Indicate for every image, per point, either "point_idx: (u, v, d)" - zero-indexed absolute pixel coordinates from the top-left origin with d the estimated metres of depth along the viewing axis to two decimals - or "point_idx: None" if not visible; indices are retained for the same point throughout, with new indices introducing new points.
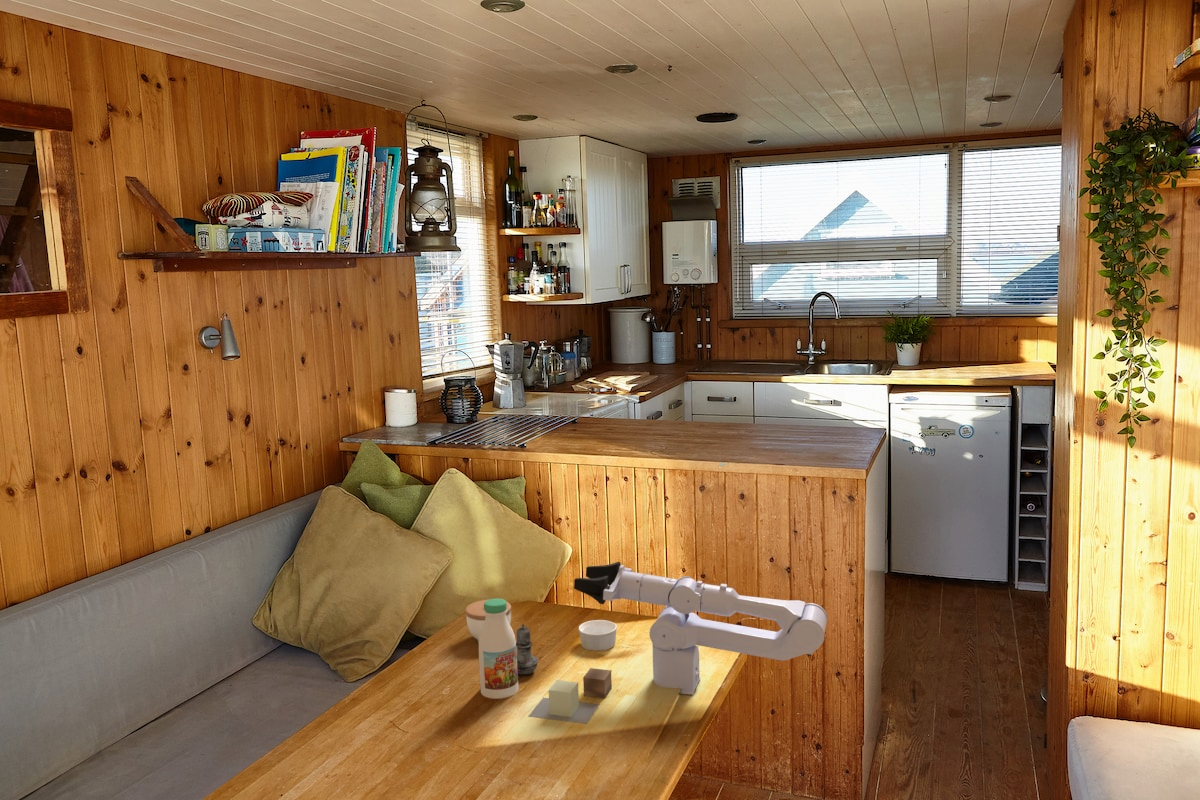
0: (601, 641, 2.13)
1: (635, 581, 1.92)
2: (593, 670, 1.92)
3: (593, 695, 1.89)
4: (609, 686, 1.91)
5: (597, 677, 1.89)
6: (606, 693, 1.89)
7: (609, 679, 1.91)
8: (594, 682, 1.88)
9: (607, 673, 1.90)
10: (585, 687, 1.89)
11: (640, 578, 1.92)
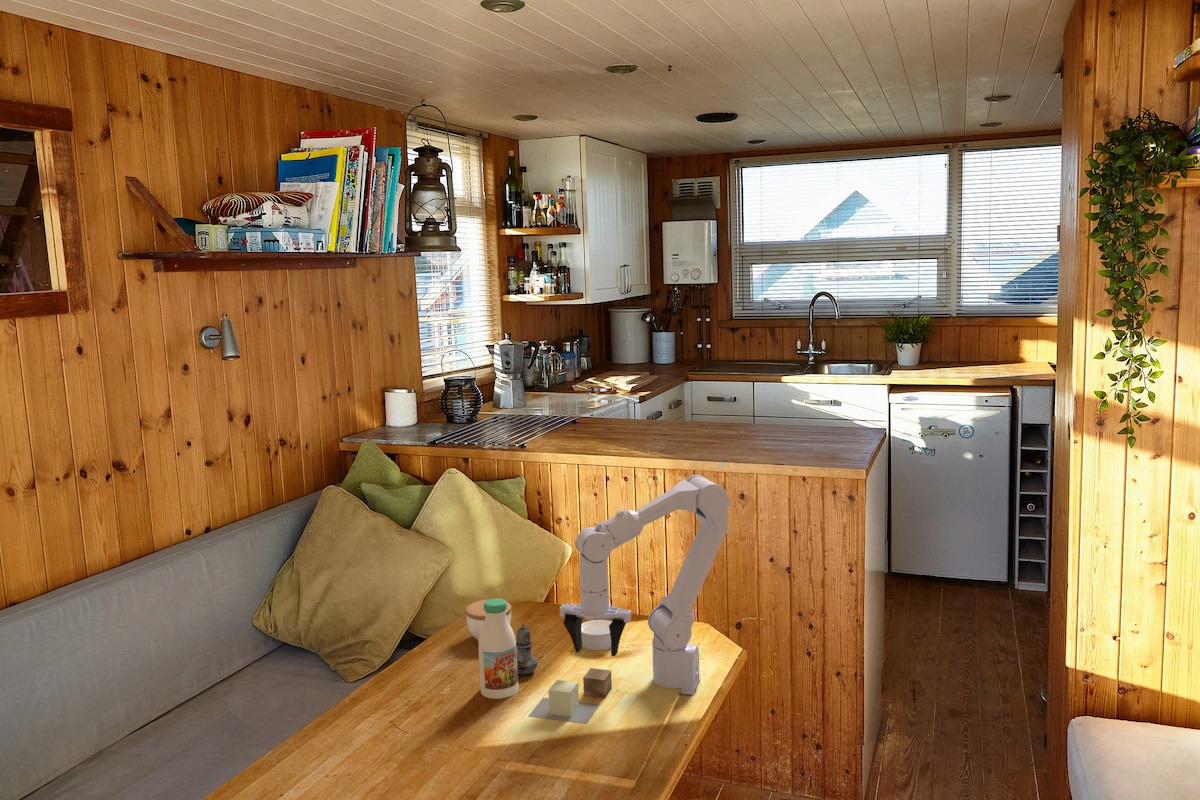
0: (601, 641, 2.13)
1: (601, 597, 1.85)
2: (593, 670, 1.92)
3: (593, 695, 1.89)
4: (609, 686, 1.91)
5: (597, 677, 1.89)
6: (606, 693, 1.89)
7: (609, 679, 1.91)
8: (594, 682, 1.88)
9: (607, 673, 1.90)
10: (585, 687, 1.89)
11: (597, 594, 1.85)
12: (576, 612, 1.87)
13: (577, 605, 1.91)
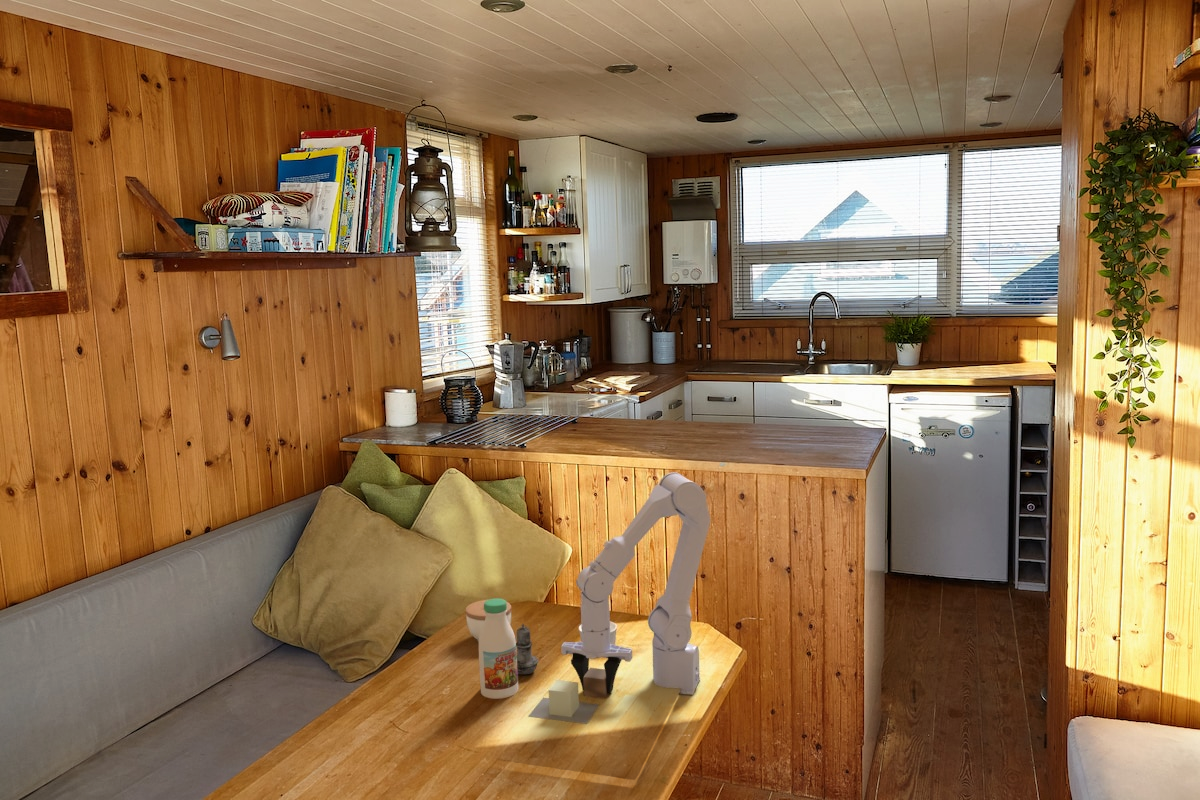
0: None
1: (602, 636, 1.87)
2: (593, 670, 1.92)
3: (593, 694, 1.89)
4: None
5: (597, 677, 1.89)
6: (606, 693, 1.89)
7: None
8: (594, 682, 1.88)
9: None
10: (585, 687, 1.89)
11: (598, 633, 1.86)
12: (577, 651, 1.89)
13: (579, 643, 1.92)
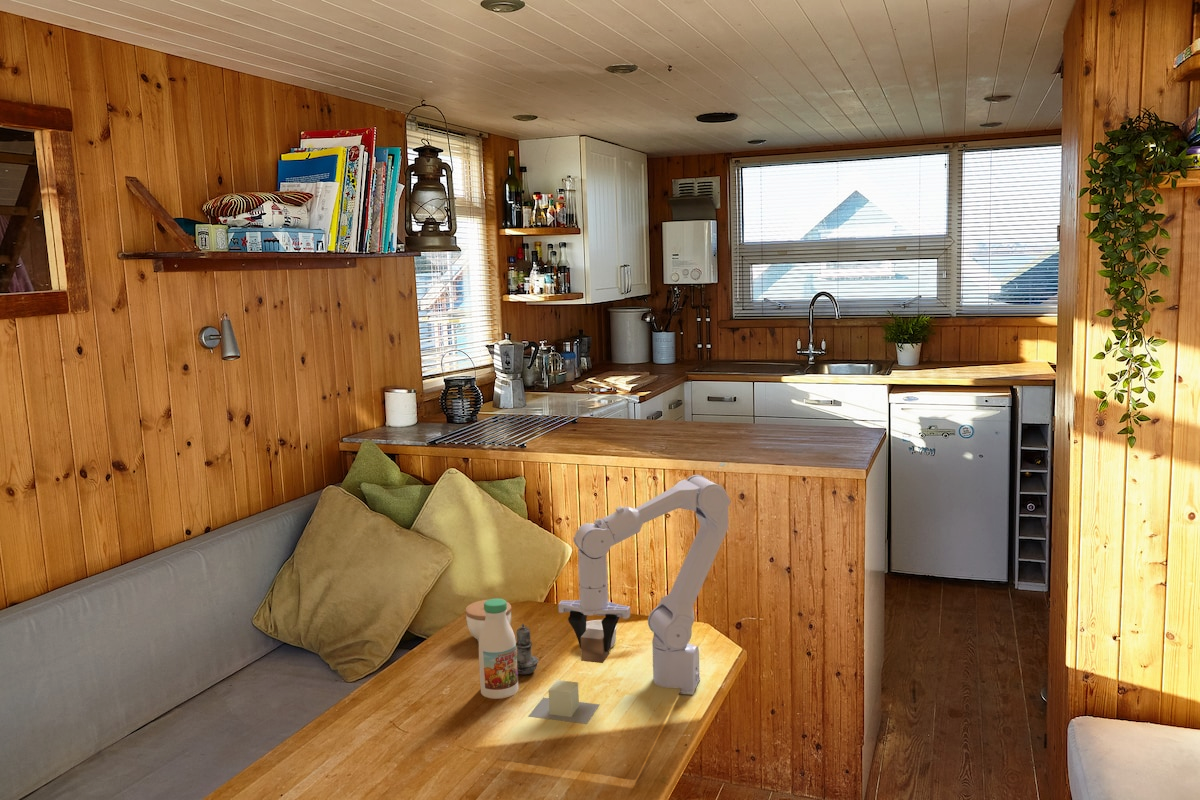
0: None
1: (600, 593, 1.85)
2: (591, 631, 1.90)
3: (590, 655, 1.87)
4: None
5: (594, 637, 1.87)
6: (603, 653, 1.87)
7: None
8: (591, 642, 1.87)
9: None
10: (582, 647, 1.87)
11: (596, 590, 1.85)
12: (575, 608, 1.87)
13: (576, 601, 1.91)
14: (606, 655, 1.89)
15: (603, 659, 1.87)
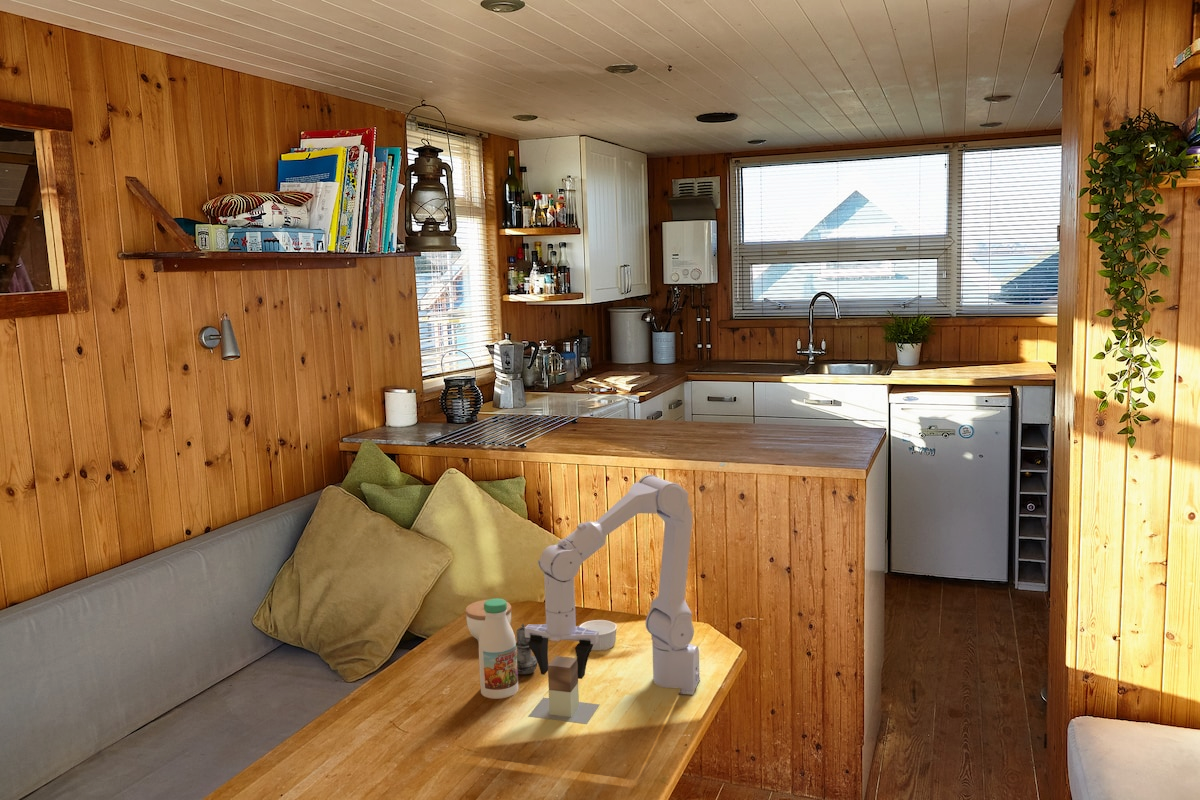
0: (601, 641, 2.13)
1: (567, 618, 1.78)
2: (559, 658, 1.84)
3: (558, 683, 1.81)
4: (575, 674, 1.83)
5: (562, 665, 1.80)
6: (572, 682, 1.81)
7: (575, 667, 1.83)
8: (559, 670, 1.80)
9: (573, 661, 1.82)
10: (550, 675, 1.81)
11: (562, 614, 1.78)
12: (541, 633, 1.80)
13: (543, 626, 1.84)
14: (574, 684, 1.83)
15: (571, 688, 1.81)
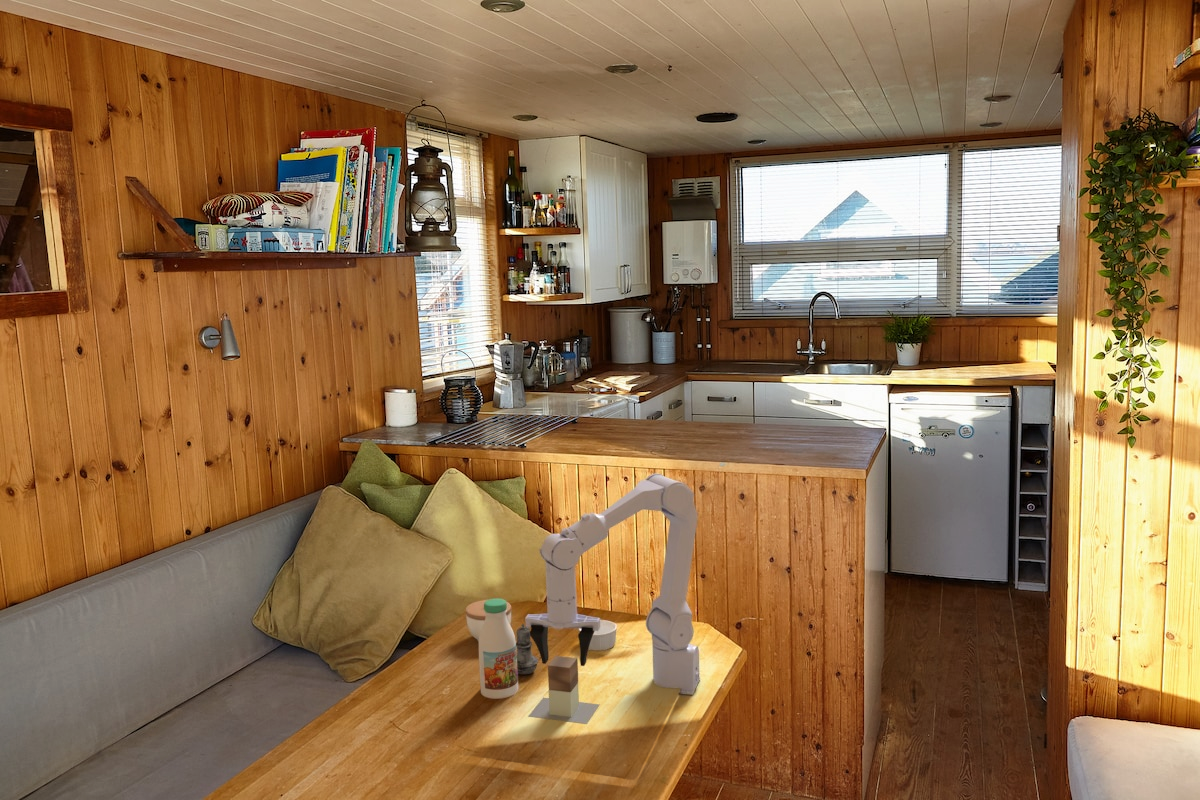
0: (601, 641, 2.13)
1: (569, 605, 1.79)
2: (559, 658, 1.84)
3: (558, 683, 1.81)
4: (575, 674, 1.83)
5: (562, 665, 1.80)
6: (572, 682, 1.81)
7: (575, 667, 1.83)
8: (559, 670, 1.80)
9: (573, 661, 1.82)
10: (550, 675, 1.81)
11: (565, 602, 1.79)
12: (543, 622, 1.81)
13: (543, 615, 1.84)
14: (574, 684, 1.83)
15: (571, 688, 1.81)
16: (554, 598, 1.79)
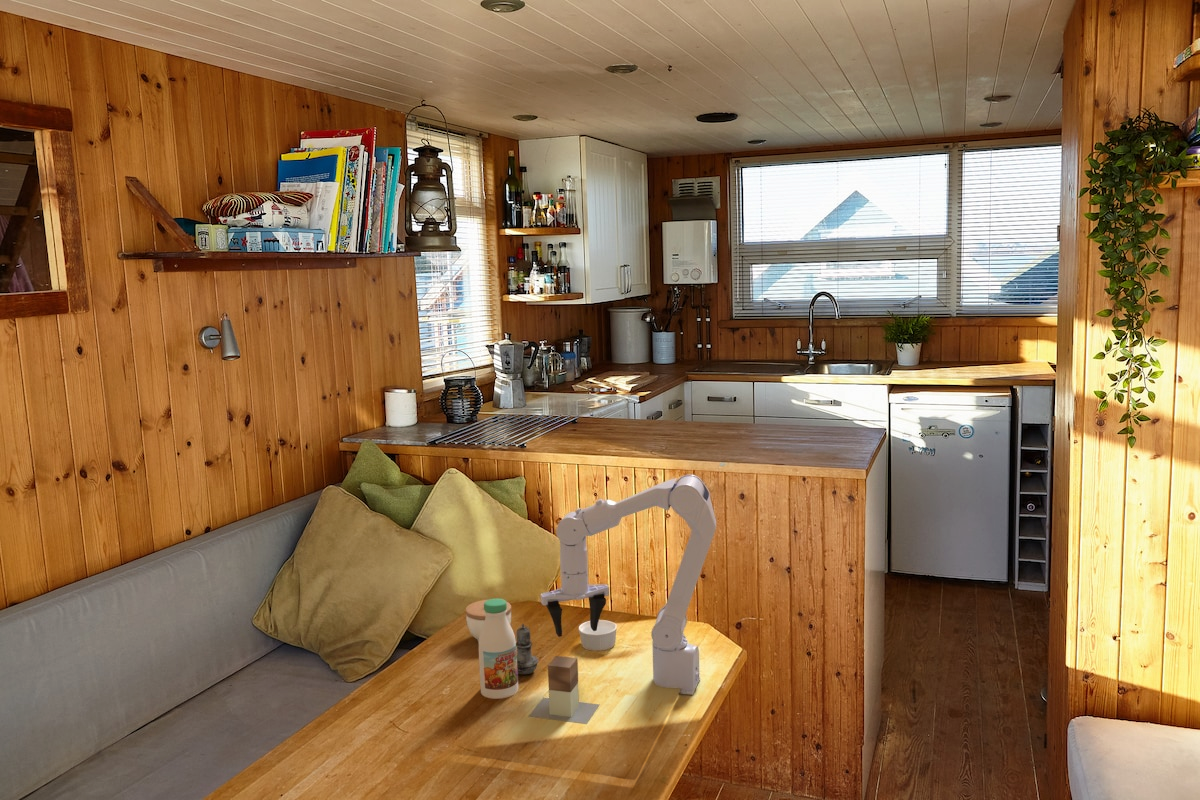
0: (601, 641, 2.13)
1: (586, 576, 1.95)
2: (559, 658, 1.84)
3: (558, 683, 1.81)
4: (575, 674, 1.83)
5: (562, 665, 1.80)
6: (572, 682, 1.81)
7: (575, 667, 1.83)
8: (559, 670, 1.80)
9: (573, 661, 1.82)
10: (550, 675, 1.81)
11: (584, 574, 1.94)
12: (562, 597, 1.94)
13: (553, 592, 1.97)
14: (574, 684, 1.83)
15: (571, 688, 1.81)
16: (561, 569, 1.95)
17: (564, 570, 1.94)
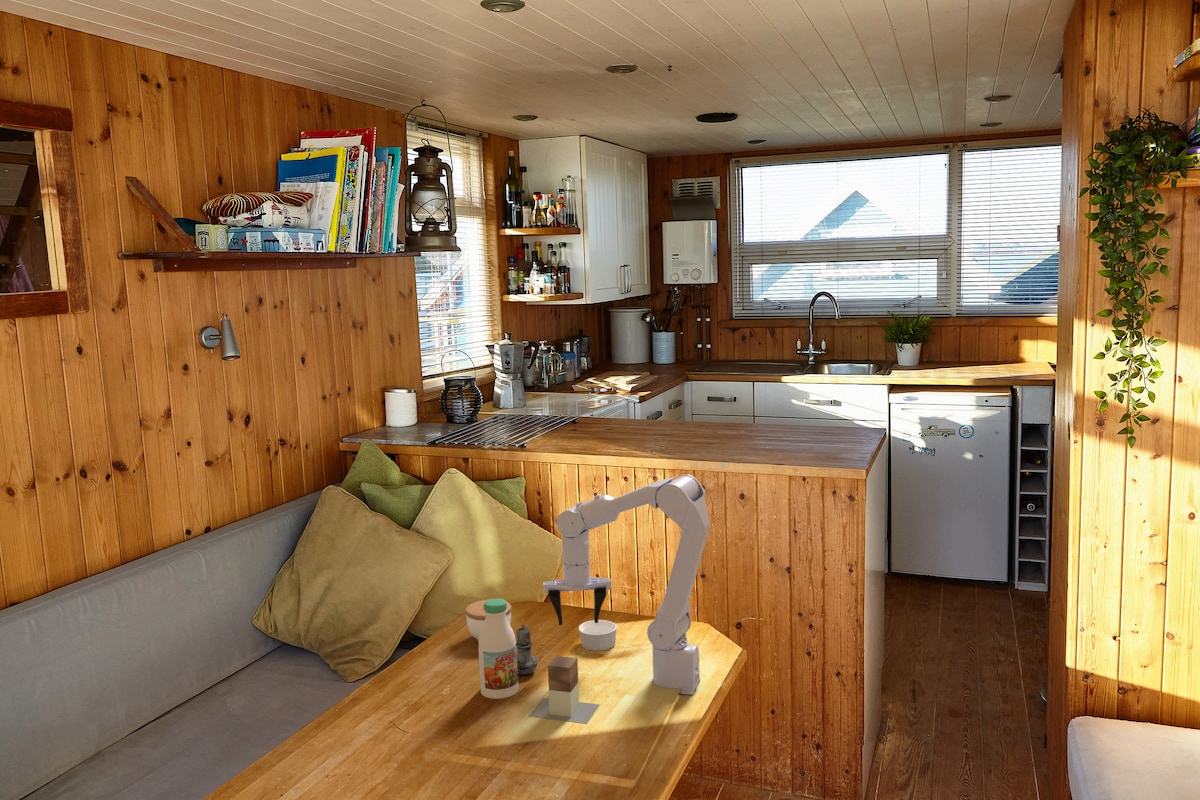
0: (601, 641, 2.13)
1: (586, 569, 2.00)
2: (559, 658, 1.84)
3: (558, 683, 1.81)
4: (575, 674, 1.83)
5: (562, 665, 1.80)
6: (572, 682, 1.81)
7: (575, 667, 1.83)
8: (559, 670, 1.80)
9: (573, 661, 1.82)
10: (550, 675, 1.81)
11: (583, 566, 1.99)
12: (562, 586, 2.00)
13: (557, 581, 2.03)
14: (574, 684, 1.83)
15: (571, 688, 1.81)
16: (563, 560, 2.01)
17: (564, 561, 2.00)
